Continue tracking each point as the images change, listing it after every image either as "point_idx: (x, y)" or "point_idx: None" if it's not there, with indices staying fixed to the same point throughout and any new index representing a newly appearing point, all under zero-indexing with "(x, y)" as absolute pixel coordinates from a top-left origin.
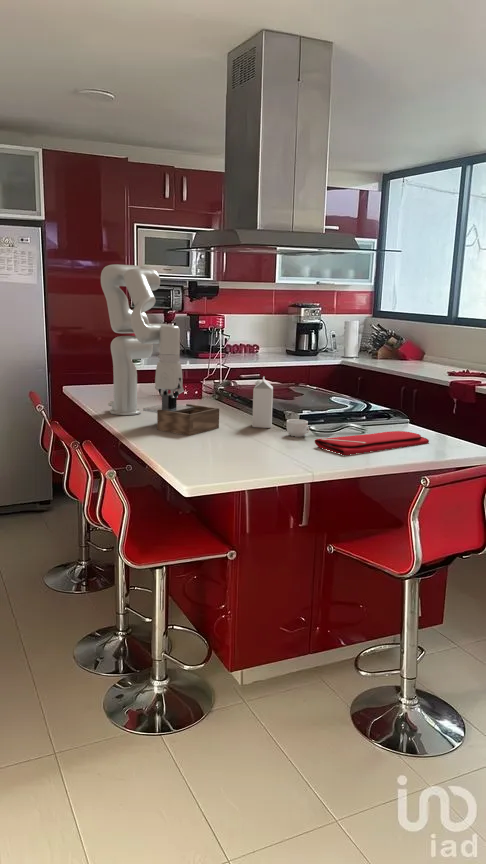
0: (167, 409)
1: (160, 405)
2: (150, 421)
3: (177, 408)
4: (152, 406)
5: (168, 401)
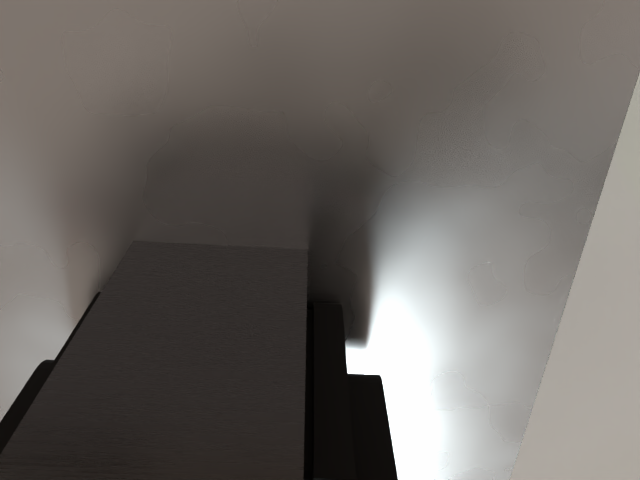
0: (79, 167)
1: (485, 422)
2: (589, 283)
3: (33, 367)
4: (570, 267)
5: (76, 352)
